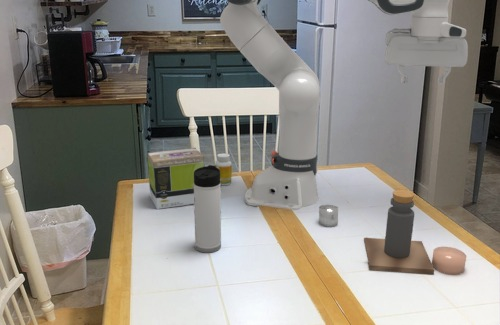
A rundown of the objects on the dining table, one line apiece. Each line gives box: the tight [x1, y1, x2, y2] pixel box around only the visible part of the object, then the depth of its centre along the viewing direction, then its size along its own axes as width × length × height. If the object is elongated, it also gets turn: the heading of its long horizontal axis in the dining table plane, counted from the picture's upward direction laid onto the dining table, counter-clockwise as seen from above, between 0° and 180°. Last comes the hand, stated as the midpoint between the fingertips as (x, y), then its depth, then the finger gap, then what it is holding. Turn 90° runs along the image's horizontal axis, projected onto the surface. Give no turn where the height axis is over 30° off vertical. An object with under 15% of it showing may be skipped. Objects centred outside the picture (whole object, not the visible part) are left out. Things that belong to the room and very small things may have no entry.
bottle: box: [384, 189, 415, 258], centre depth 118 cm, size 6×6×15 cm
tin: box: [318, 204, 339, 228], centre depth 136 cm, size 5×5×5 cm
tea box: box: [147, 147, 206, 210], centre depth 150 cm, size 15×10×15 cm, turn 111°
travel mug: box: [193, 164, 222, 254], centre depth 121 cm, size 6×7×20 cm
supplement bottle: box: [214, 153, 233, 186], centre depth 166 cm, size 5×5×10 cm
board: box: [363, 237, 435, 275], centre depth 120 cm, size 14×14×1 cm
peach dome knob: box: [431, 246, 467, 276], centre depth 116 cm, size 7×7×4 cm
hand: (422, 83), depth 134 cm, fingers open, 8 cm apart
